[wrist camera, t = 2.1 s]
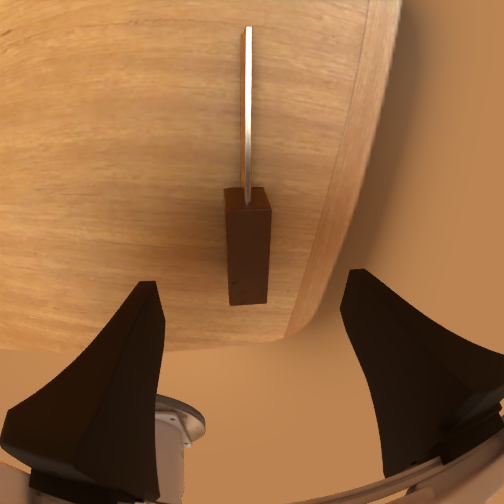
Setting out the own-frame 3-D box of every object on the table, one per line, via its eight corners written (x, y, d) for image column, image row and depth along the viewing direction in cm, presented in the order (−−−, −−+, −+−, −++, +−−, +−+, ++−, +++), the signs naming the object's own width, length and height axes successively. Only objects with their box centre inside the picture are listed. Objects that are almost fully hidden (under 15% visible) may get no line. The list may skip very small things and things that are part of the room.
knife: (260, 274, 16) (267, 304, 14) (227, 275, 16) (229, 306, 14) (266, 35, 9) (277, 25, 8) (221, 34, 9) (222, 23, 7)
